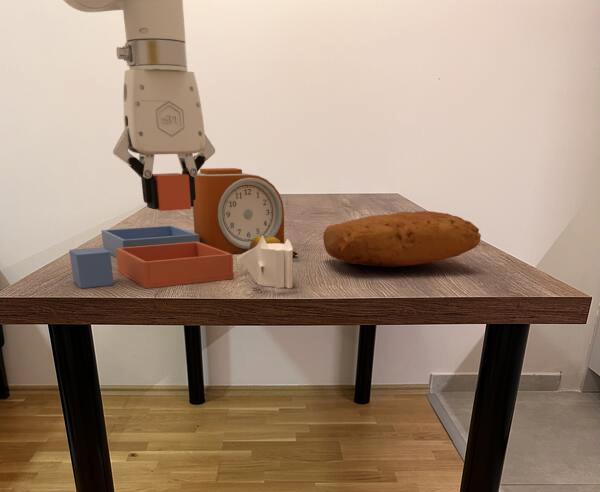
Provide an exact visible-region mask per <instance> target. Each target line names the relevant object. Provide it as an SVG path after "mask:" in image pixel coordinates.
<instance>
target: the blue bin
mask: <svg viewBox="0 0 600 492" xmlns="http://www.w3.org/2000/svg"><path fill="white" fill-rule="evenodd" d="M100 231H101V239H102V248H103V249H105V250H107V251H109V252H110V253H111V254H110V256H113V257H115V258H116V259H117V253H116V248H125V247H137V246H149V245H162V244H174V243H186V242H200V241H199V235H198V234H195V233H194V232H192V231H190V230H186V229H184V228H181V227H178V226H175V225H161V226H160V225H157V226H144V227H130V228H114V229H101V230H100Z"/></svg>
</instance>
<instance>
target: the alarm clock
mask: <svg viewBox="0 0 600 492" xmlns="http://www.w3.org/2000/svg"><path fill="white" fill-rule="evenodd" d="M194 180H195V194H196V199H195V200H193V201H194V206H193V207H192V216H193V231H194V232H193V233H195V234H198V235H199V241H200V243H203V244H206V245H208V246H211V247H214V248H217V249H219V250H222V251H225V252H228V253H230V254H243V253H245V252H247V251H249V249H250V243H251V242H252V240H253V239H254V238H255V237H257V236H262V235H263V236H264V235H265V236H268V237H275V238H277V239H278V240H280V242H281V244H284V243H285V209H284V201H283V200H282V199H283V198H282V197H281V194H280V192H279V191H278V189H277V188H276V187H275V185H274V184H272V182H270V181H269V180H268V179H266V178H264V177H262V176H260V175H256V174H253V173H252V174H250V173H245V172H243V170H242V169H241V168H237V167H236V168H235V167H222V168H220V167H219V168H217V167H216V168H200V169H199V172H197V175H196V176H195V177H194Z"/></svg>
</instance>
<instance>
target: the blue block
mask: <svg viewBox="0 0 600 492" xmlns="http://www.w3.org/2000/svg"><path fill="white" fill-rule="evenodd" d="M68 252H69V258H70V265H71V266H70V267H71V273H72V279H73V283H74V284H75V285H76V286H78V287H79V288H80V289H90V288H98V287H107V286H115V282H114V274H113V265H112V255H111V254H110V252H109V251H107V250H105V249H104V247H103V246H101V247H100V246H99V247H87V248H75V249H69V250H68Z"/></svg>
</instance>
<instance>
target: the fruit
mask: <svg viewBox="0 0 600 492" xmlns="http://www.w3.org/2000/svg"><path fill="white" fill-rule="evenodd" d="M261 237H262V236H257V237H255V238H254V239H253V240H252V242H251V243H250V249H249V250H251V249H253V248H254V247H256V246H257V244H258V243H259V241H260V239H261ZM263 237H264V239H265V241H266V243H267V244H271V243H279V244H281V242H280V240H278V239H277V238H275V237H268V236H265V235H264V236H263ZM298 255H299V252H298V251H297V250H293V258H294V257H295V256H298Z"/></svg>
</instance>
